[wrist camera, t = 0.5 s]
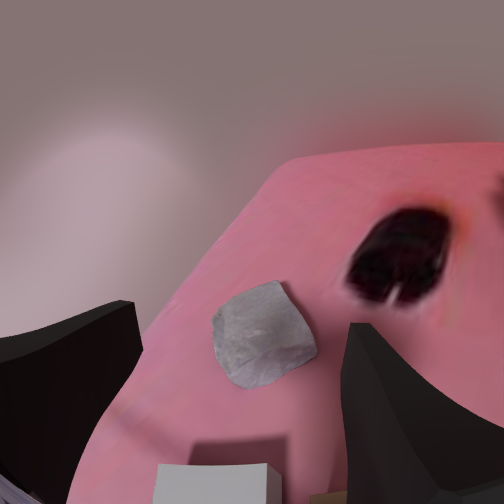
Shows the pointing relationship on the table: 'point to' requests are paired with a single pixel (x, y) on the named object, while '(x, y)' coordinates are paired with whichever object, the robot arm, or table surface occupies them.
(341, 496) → the walnut block
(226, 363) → the stone block
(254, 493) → the plinth
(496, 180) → the table surface
